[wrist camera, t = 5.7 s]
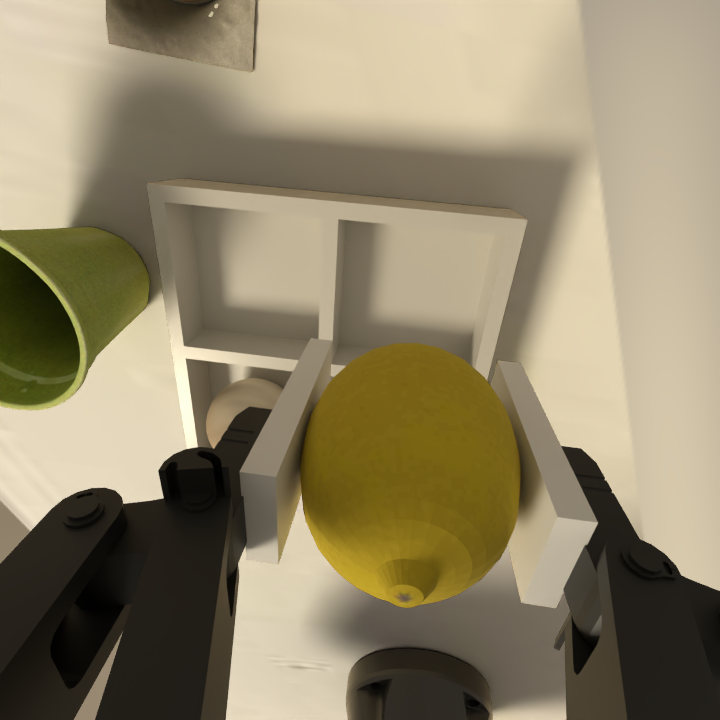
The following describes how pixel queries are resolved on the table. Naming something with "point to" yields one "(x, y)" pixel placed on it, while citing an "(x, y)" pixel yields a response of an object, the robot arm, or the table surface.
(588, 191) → the table surface
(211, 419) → the beige rounded ball
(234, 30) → the condiment
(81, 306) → the plant pot
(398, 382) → the lemon
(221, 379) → the tray
